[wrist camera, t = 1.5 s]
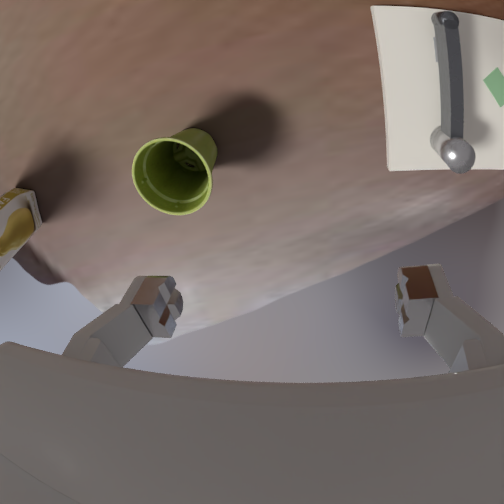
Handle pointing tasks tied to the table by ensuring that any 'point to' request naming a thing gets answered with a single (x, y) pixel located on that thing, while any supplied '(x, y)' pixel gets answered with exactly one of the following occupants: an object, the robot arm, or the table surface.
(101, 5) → the table surface
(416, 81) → the dial board
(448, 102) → the grey lever handle
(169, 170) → the plant pot
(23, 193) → the juice carton
